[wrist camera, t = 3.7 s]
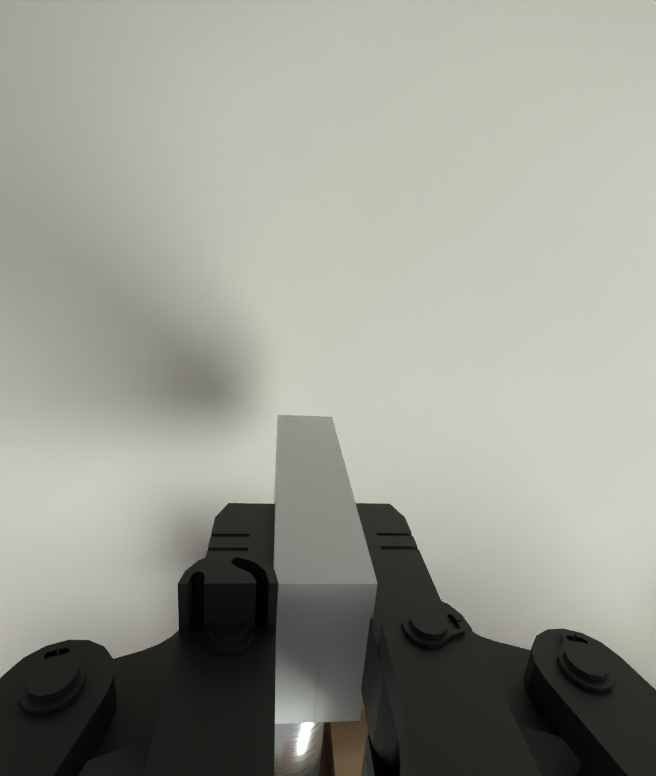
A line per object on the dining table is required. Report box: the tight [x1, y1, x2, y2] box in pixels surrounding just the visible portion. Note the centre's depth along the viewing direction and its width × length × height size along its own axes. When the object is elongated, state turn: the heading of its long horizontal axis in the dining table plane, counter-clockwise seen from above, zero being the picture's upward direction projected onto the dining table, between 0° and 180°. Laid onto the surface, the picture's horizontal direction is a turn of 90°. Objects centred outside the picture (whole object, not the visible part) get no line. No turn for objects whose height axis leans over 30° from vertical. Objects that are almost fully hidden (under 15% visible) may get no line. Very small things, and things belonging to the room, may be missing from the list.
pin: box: [274, 722, 325, 776], centre depth 17 cm, size 11×4×4 cm, turn 176°
